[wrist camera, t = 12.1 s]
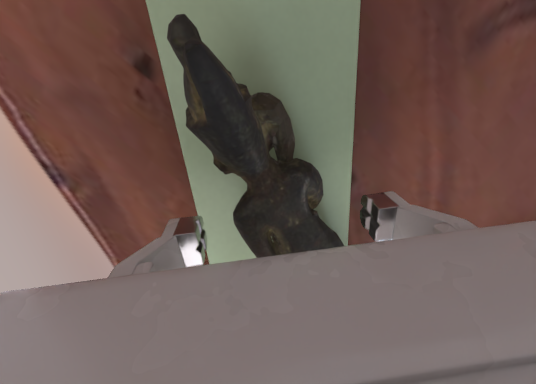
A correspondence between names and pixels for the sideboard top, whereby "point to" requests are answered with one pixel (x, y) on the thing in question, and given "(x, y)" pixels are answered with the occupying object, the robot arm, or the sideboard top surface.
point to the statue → (251, 151)
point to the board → (279, 85)
